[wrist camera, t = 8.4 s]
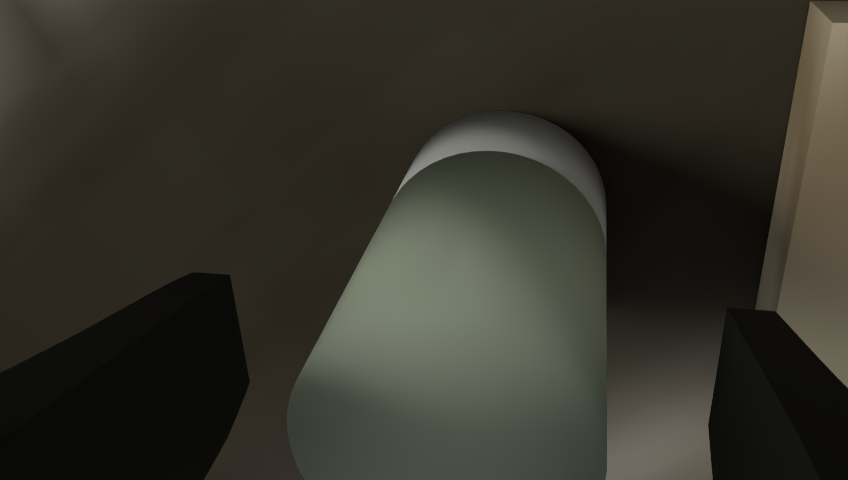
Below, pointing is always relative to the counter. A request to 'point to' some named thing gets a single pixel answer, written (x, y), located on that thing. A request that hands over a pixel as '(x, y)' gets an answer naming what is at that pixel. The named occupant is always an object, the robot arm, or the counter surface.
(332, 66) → the counter surface
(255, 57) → the counter surface
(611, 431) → the counter surface
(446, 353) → the green grey capped cylinder
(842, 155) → the wooden cutting board
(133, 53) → the counter surface
